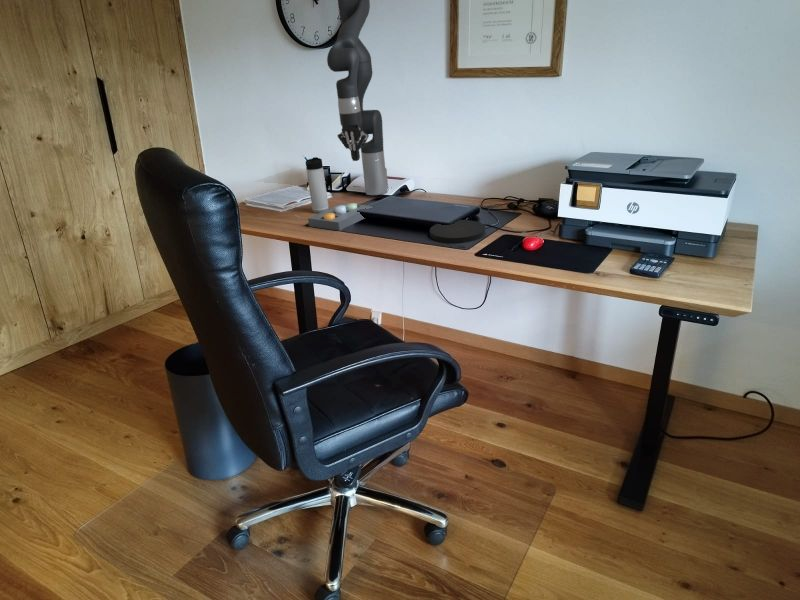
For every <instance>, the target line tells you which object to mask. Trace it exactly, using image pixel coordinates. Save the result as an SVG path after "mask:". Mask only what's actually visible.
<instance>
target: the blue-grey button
mask: <svg viewBox="0 0 800 600" xmlns="http://www.w3.org/2000/svg"><path fill="white" fill-rule="evenodd" d="M338 205H339V206H337V205H335V206H336V207H335V206H334V207H335V214H339V215H343V214H345V213H346V206H345V205H340V204H338Z"/></svg>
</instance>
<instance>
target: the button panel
mask: <svg viewBox="0 0 800 600" xmlns="http://www.w3.org/2000/svg"><path fill="white" fill-rule="evenodd" d="M346 204H348V203H345V202H342V203H340V204H338V205H335V206H332V208H331V207H330V208H329V209H328V210H326V211H324V212H321V213H316V214H315V215H313V216H309V217H308V218H307V220H308V227H311V228H317V229H326V230H330V231H331V230H332V231H338V232H339V231H342V230H344V229H347V228H348V227H350V226H352V225H354V224H356V223H358V222H360V221H362V220H364V219H365V218H364V217H363V216H362V215H361V214H360V212H357V210H359V209H365V208H366V209H369V208H373V207H374V206H372V205H364V204H363V205H362V204H357V208H356V209H353V210H351V209H346V213H345V214H343V215H339V214H335V207H336V206H339V205H345V206H346ZM373 209H374V208H373ZM326 213H334V214H335V218H334V219H332V220H325V219H324V217H323V215H324V214H326Z"/></svg>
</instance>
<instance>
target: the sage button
mask: <svg viewBox="0 0 800 600" xmlns="http://www.w3.org/2000/svg"><path fill="white" fill-rule="evenodd" d="M357 205H358V204H357V203H356V202H350V203H347V204H346V209H351V210H353V209H356V208H357Z"/></svg>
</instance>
